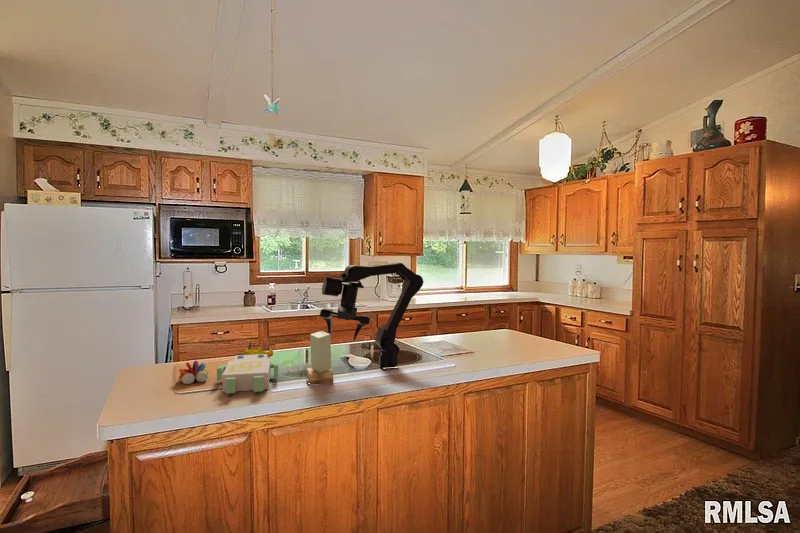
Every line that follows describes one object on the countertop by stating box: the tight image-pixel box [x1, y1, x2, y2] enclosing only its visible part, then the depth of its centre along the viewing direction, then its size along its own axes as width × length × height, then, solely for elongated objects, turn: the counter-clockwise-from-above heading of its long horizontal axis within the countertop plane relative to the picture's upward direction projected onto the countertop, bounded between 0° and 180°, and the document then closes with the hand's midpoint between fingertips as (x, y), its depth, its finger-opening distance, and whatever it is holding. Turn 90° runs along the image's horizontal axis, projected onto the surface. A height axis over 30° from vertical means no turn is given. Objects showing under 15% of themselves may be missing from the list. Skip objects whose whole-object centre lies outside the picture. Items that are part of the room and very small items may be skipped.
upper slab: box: [306, 367, 334, 381], centre depth 155 cm, size 8×8×2 cm
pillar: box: [309, 330, 332, 373], centre depth 153 cm, size 5×5×13 cm
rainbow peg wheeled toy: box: [178, 360, 209, 385], centre depth 152 cm, size 8×10×7 cm
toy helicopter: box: [243, 342, 274, 358], centre depth 169 cm, size 6×18×10 cm, turn 155°
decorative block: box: [216, 354, 280, 395], centre depth 151 cm, size 26×6×20 cm
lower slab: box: [306, 374, 334, 385], centre depth 155 cm, size 9×9×2 cm
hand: (341, 338), depth 164 cm, fingers open, 9 cm apart
